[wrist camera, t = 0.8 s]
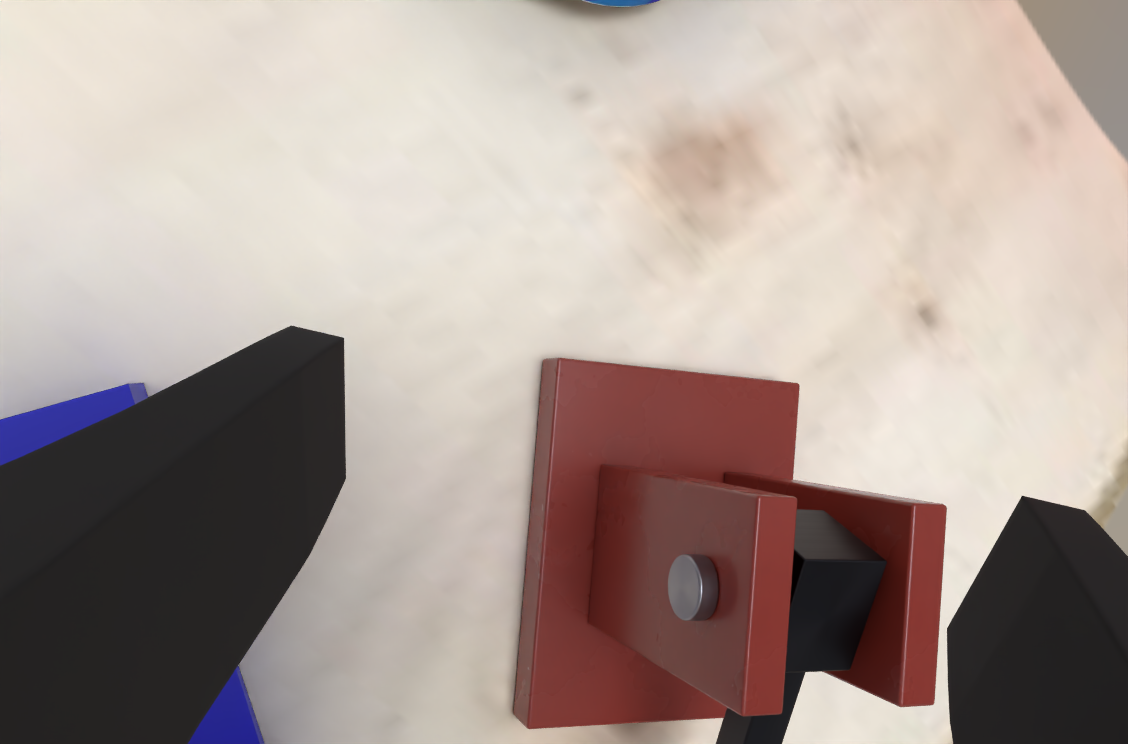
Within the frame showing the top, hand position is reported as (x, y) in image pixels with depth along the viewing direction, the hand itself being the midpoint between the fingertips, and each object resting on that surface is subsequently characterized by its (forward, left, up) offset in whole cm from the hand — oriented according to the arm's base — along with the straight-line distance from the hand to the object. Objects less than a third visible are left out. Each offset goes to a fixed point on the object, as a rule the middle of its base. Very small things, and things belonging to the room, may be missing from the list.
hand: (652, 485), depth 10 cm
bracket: (-3, -8, -16) cm, 18 cm away
